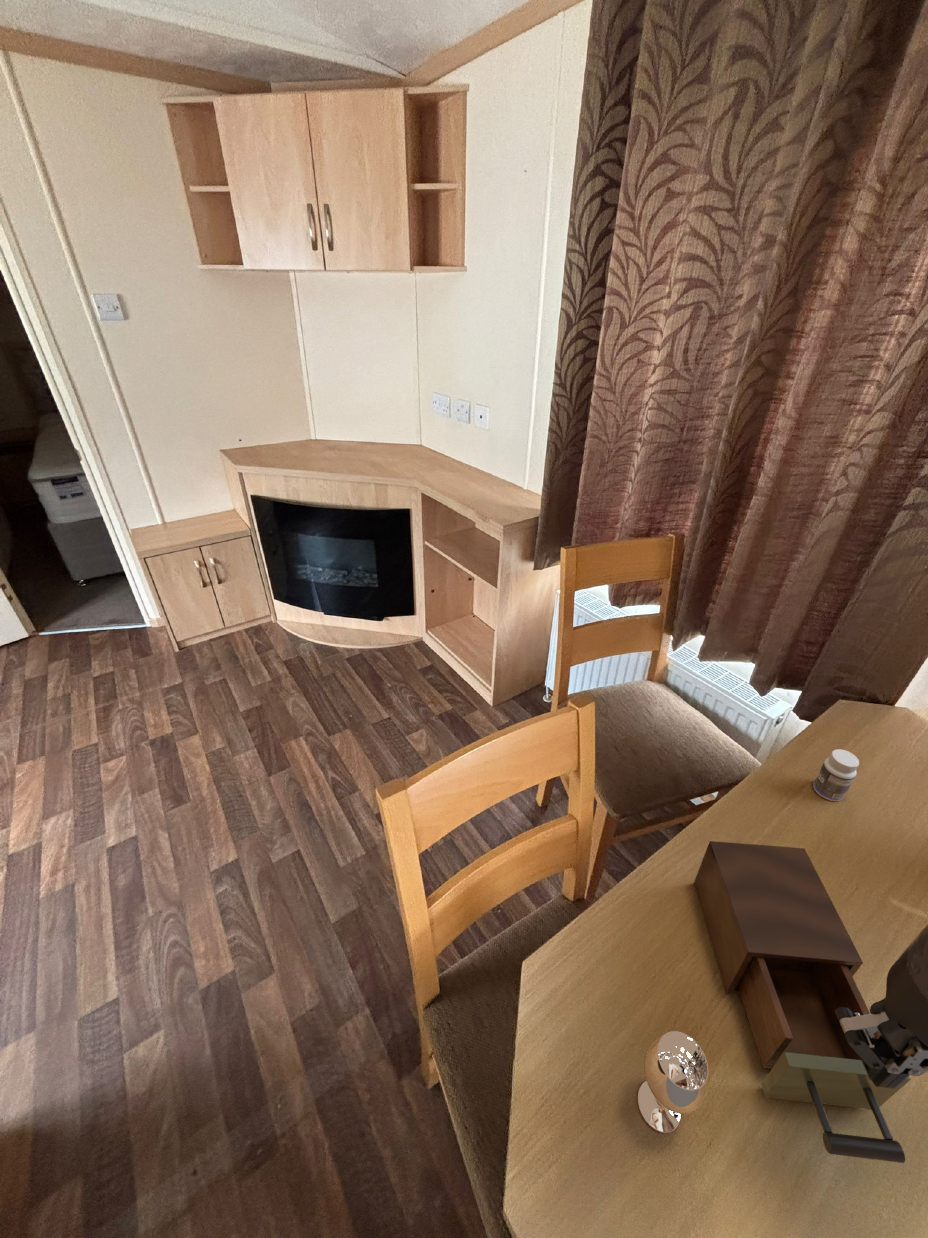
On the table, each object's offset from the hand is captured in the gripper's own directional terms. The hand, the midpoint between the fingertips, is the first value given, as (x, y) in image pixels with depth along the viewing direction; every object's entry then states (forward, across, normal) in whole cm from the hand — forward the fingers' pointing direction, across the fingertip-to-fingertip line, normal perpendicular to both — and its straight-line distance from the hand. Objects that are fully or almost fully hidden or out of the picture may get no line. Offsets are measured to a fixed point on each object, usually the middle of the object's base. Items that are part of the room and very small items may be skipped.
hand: (877, 1074), depth 49 cm
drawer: (+12, -1, +5) cm, 13 cm away
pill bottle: (+14, +21, +46) cm, 52 cm away
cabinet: (+13, -1, +19) cm, 23 cm away
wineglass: (+13, -18, 0) cm, 22 cm away
